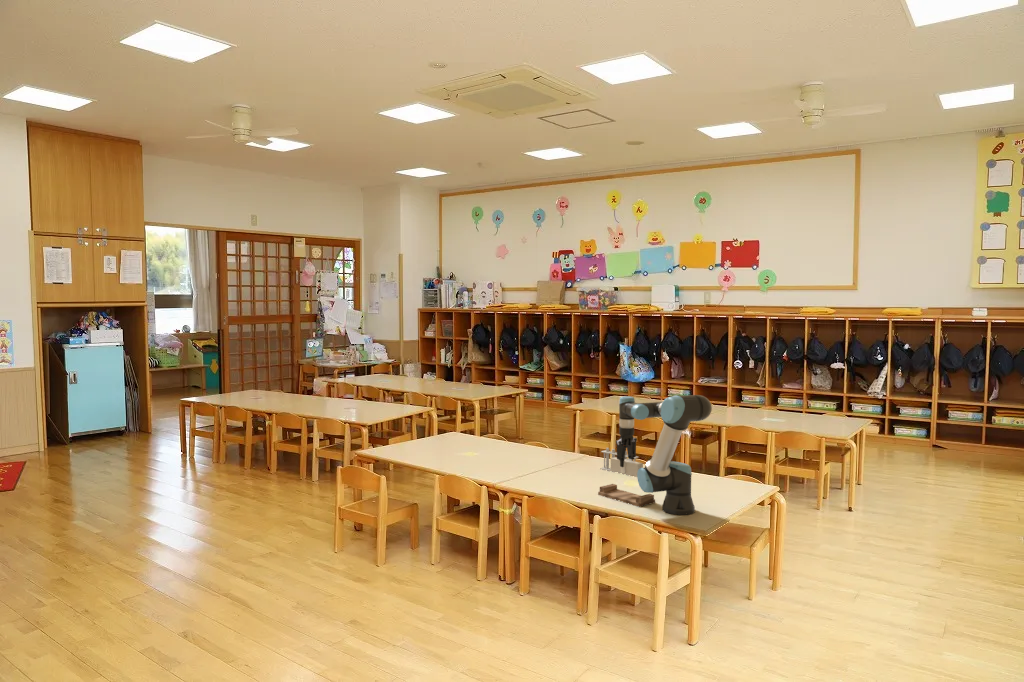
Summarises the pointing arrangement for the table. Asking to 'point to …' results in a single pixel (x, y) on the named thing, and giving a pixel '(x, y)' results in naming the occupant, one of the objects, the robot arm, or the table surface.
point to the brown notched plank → (625, 495)
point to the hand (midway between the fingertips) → (626, 472)
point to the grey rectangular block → (631, 466)
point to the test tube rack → (612, 457)
